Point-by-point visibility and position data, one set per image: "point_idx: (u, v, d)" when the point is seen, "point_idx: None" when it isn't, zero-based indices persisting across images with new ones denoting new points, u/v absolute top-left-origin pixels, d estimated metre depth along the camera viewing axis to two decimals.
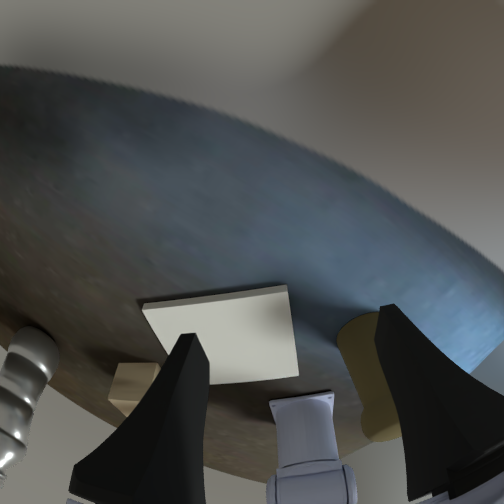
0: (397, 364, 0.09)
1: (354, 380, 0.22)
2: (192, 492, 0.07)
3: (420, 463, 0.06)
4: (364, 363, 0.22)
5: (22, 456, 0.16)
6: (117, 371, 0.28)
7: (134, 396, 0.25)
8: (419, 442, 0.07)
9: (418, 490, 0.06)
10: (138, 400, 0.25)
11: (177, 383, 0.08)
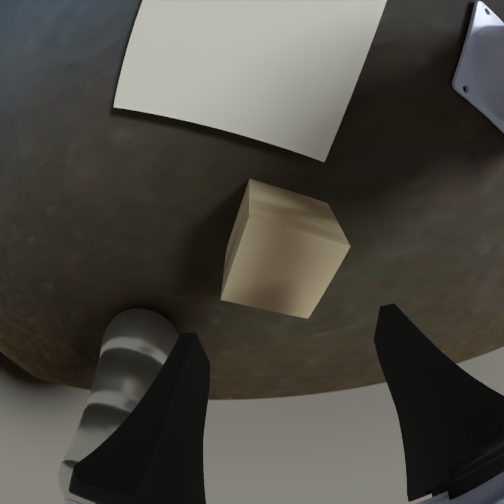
0: (397, 364, 0.09)
1: None
2: (192, 492, 0.07)
3: (420, 463, 0.06)
4: None
5: None
6: None
7: (238, 242, 0.14)
8: (419, 442, 0.07)
9: (417, 490, 0.06)
10: (241, 238, 0.13)
11: (177, 383, 0.08)
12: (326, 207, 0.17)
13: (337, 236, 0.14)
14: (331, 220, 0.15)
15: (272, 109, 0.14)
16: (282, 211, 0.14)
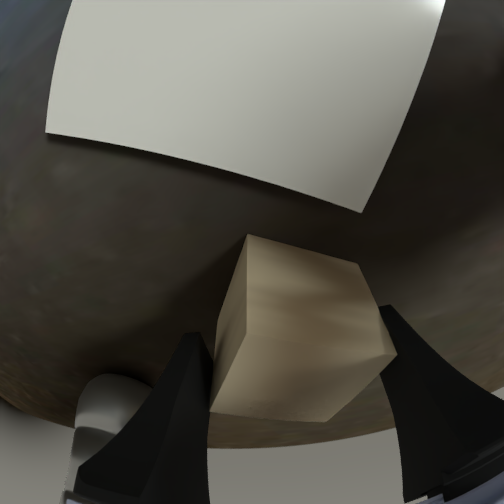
0: (393, 365, 0.09)
1: None
2: (197, 492, 0.07)
3: (415, 465, 0.06)
4: None
5: None
6: (216, 337, 0.13)
7: (231, 354, 0.09)
8: (414, 444, 0.07)
9: (413, 492, 0.06)
10: (234, 356, 0.08)
11: (182, 383, 0.08)
12: (357, 273, 0.12)
13: (379, 338, 0.09)
14: (367, 302, 0.10)
15: (285, 130, 0.09)
16: (299, 305, 0.09)
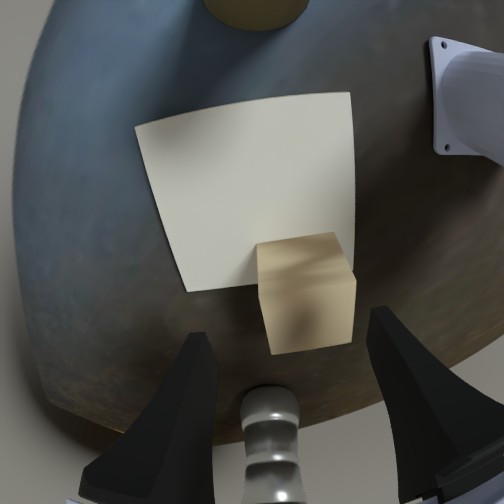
0: (388, 366, 0.09)
1: None
2: (202, 493, 0.07)
3: (410, 466, 0.06)
4: None
5: None
6: None
7: None
8: (409, 445, 0.07)
9: (408, 493, 0.06)
10: (262, 311, 0.15)
11: (188, 383, 0.08)
12: (332, 238, 0.18)
13: (343, 275, 0.15)
14: (337, 255, 0.16)
15: None
16: (288, 272, 0.16)
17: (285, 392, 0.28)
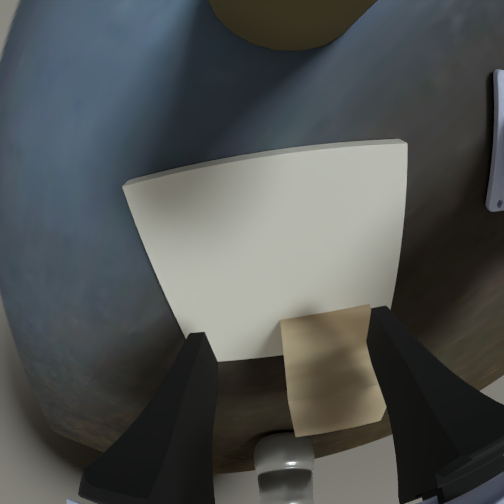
0: (388, 366, 0.09)
1: (322, 8, 0.05)
2: (202, 493, 0.07)
3: (410, 466, 0.06)
4: None
5: None
6: None
7: None
8: (409, 445, 0.07)
9: (408, 493, 0.06)
10: (290, 410, 0.12)
11: (188, 383, 0.08)
12: (369, 315, 0.14)
13: None
14: None
15: None
16: (321, 367, 0.13)
17: (300, 439, 0.25)
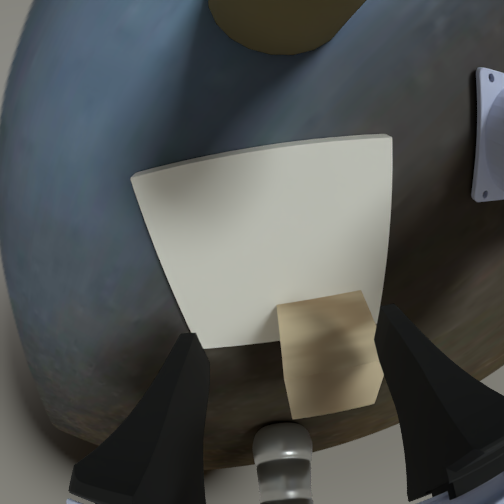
0: (397, 364, 0.09)
1: (307, 19, 0.06)
2: (192, 492, 0.07)
3: (420, 463, 0.06)
4: (235, 4, 0.06)
5: None
6: None
7: None
8: (419, 442, 0.07)
9: (417, 490, 0.06)
10: (286, 389, 0.13)
11: (177, 383, 0.08)
12: (360, 299, 0.16)
13: (374, 350, 0.13)
14: (366, 323, 0.14)
15: None
16: (315, 347, 0.14)
17: (298, 429, 0.26)
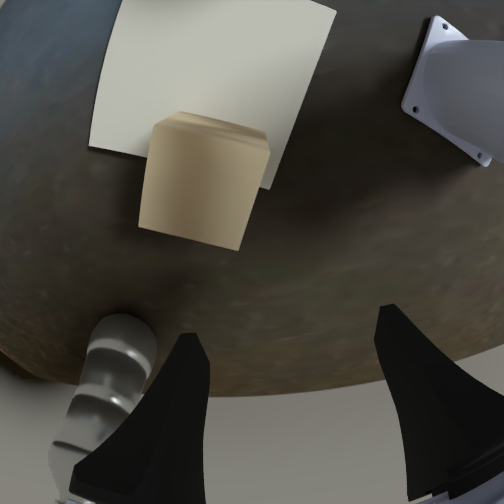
0: (397, 364, 0.09)
1: None
2: (192, 492, 0.07)
3: (420, 463, 0.06)
4: None
5: None
6: None
7: None
8: (419, 442, 0.07)
9: (418, 490, 0.06)
10: (149, 150, 0.12)
11: (177, 383, 0.08)
12: (260, 133, 0.15)
13: (257, 145, 0.12)
14: (258, 138, 0.14)
15: None
16: (198, 126, 0.12)
17: (146, 330, 0.24)
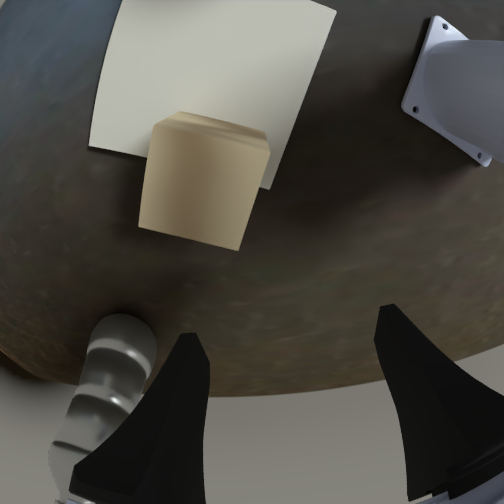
0: (397, 364, 0.09)
1: None
2: (192, 492, 0.07)
3: (420, 463, 0.06)
4: None
5: None
6: None
7: None
8: (419, 442, 0.07)
9: (418, 490, 0.06)
10: (149, 150, 0.12)
11: (177, 383, 0.08)
12: (260, 133, 0.15)
13: (257, 145, 0.12)
14: (258, 138, 0.14)
15: None
16: (198, 126, 0.12)
17: (146, 330, 0.24)
